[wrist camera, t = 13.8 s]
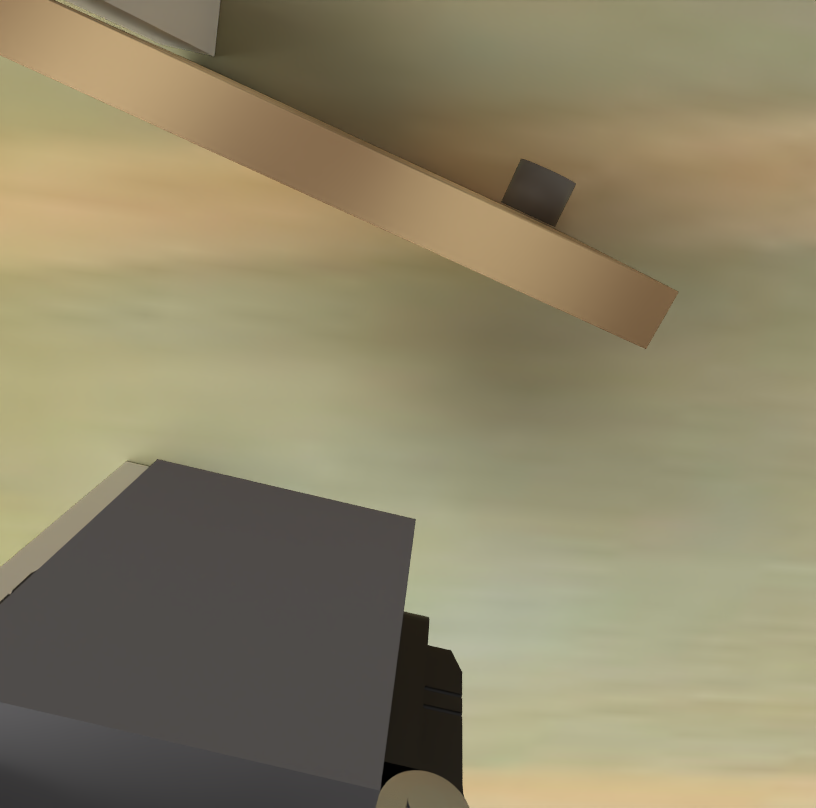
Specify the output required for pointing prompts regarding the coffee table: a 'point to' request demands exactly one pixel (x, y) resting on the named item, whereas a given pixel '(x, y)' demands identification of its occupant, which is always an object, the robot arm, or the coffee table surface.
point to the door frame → (194, 31)
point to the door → (343, 168)
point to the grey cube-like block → (205, 651)
